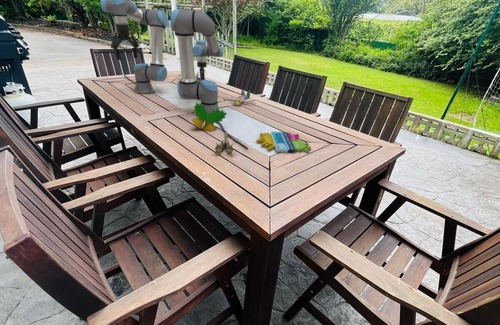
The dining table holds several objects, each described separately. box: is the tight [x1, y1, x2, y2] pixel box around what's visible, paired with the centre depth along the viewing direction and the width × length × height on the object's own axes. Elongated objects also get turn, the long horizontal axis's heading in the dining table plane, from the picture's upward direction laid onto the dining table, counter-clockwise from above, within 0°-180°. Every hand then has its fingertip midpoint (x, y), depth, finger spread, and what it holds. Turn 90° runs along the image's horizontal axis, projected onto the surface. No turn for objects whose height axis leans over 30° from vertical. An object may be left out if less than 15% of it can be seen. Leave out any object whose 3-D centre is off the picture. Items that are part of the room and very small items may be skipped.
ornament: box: [191, 102, 228, 132], centre depth 162 cm, size 21×8×15 cm, turn 105°
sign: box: [256, 131, 312, 154], centre depth 152 cm, size 26×2×30 cm
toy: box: [223, 89, 257, 106], centre depth 219 cm, size 28×7×30 cm
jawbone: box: [214, 131, 234, 156], centre depth 136 cm, size 9×15×10 cm
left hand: (127, 58), depth 179 cm, fingers open, 13 cm apart
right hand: (202, 90), depth 219 cm, fingers closed on gum box, 7 cm apart
